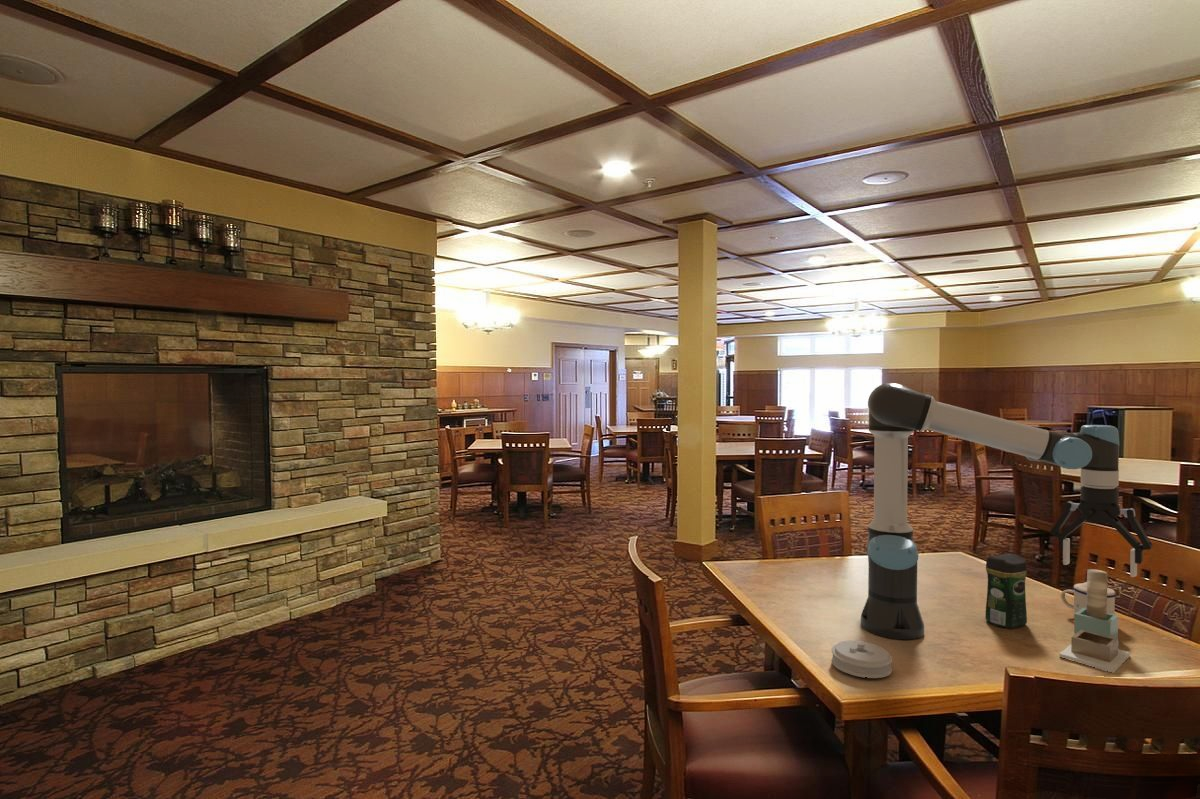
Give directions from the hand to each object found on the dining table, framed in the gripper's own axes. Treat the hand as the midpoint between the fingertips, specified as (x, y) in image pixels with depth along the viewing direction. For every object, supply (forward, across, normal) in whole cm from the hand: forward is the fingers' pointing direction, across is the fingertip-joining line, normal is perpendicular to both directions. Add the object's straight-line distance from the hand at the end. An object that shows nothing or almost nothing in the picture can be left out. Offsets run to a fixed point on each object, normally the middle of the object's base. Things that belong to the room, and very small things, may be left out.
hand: (1098, 569), depth 157 cm
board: (+17, -2, +14) cm, 23 cm away
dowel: (+18, 0, 0) cm, 18 cm away
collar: (+17, -2, +14) cm, 23 cm away
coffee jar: (+18, +18, +7) cm, 26 cm away
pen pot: (+18, 0, 0) cm, 18 cm away
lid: (+17, +28, +63) cm, 72 cm away
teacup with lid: (+18, +6, -13) cm, 22 cm away
